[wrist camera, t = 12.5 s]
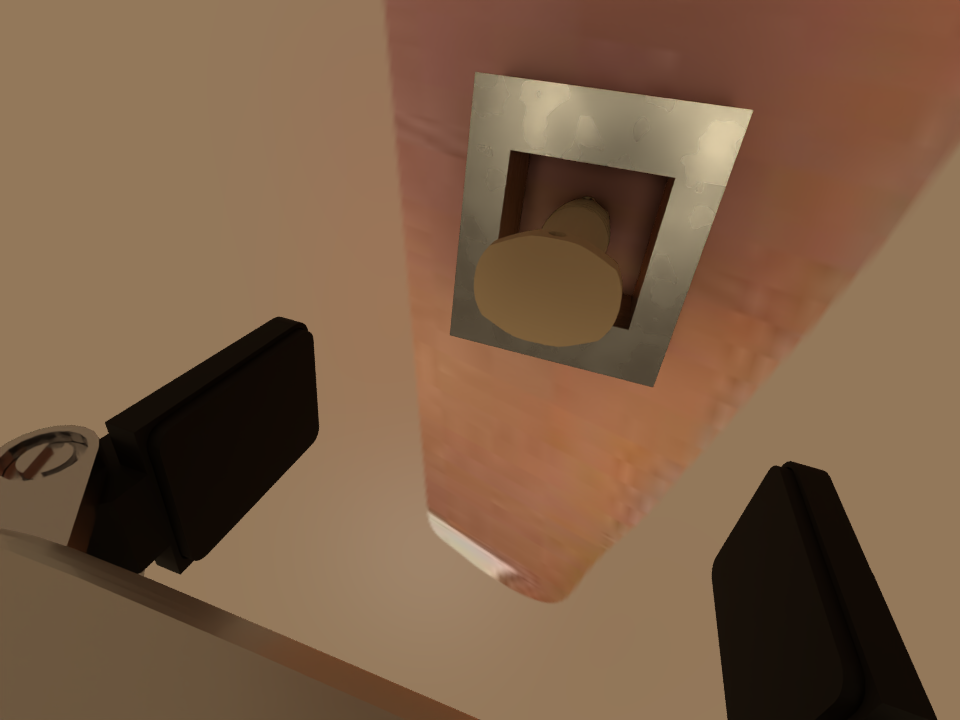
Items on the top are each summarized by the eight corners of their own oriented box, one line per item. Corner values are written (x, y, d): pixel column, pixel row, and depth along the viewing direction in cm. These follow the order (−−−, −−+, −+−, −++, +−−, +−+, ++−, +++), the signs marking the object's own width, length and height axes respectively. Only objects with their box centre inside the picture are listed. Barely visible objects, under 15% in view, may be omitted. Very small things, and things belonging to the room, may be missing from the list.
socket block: (504, 75, 31) (475, 72, 26) (735, 107, 28) (753, 110, 23) (476, 304, 39) (449, 335, 34) (653, 346, 36) (653, 387, 31)
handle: (545, 175, 33) (479, 224, 20) (642, 190, 32) (634, 253, 19) (534, 245, 35) (469, 327, 23) (623, 262, 34) (606, 359, 21)
